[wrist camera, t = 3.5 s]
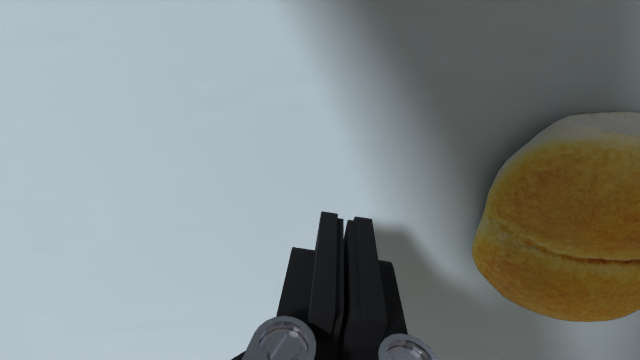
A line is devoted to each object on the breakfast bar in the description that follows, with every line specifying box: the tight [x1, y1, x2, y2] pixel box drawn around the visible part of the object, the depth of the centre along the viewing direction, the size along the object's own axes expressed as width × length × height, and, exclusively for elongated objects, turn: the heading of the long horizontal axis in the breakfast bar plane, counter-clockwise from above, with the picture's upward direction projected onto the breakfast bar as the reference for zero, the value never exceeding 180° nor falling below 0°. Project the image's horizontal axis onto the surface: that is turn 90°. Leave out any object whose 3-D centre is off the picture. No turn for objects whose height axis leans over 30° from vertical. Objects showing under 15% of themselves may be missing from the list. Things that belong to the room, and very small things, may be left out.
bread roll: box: [472, 112, 640, 322], centre depth 12 cm, size 8×9×4 cm
